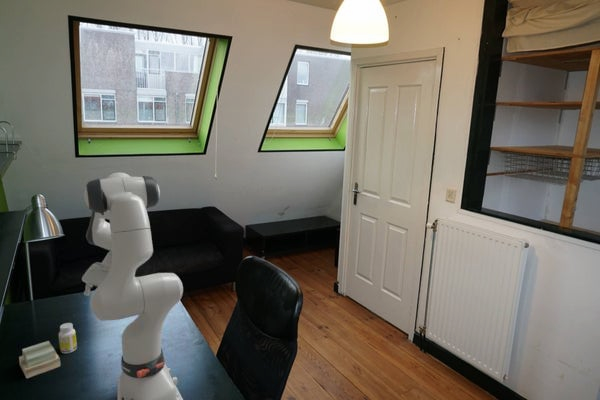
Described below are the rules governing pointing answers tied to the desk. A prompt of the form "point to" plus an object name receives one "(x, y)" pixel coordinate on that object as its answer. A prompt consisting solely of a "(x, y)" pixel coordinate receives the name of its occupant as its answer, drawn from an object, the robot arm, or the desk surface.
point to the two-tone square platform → (38, 359)
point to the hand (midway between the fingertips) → (94, 297)
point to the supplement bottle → (67, 338)
